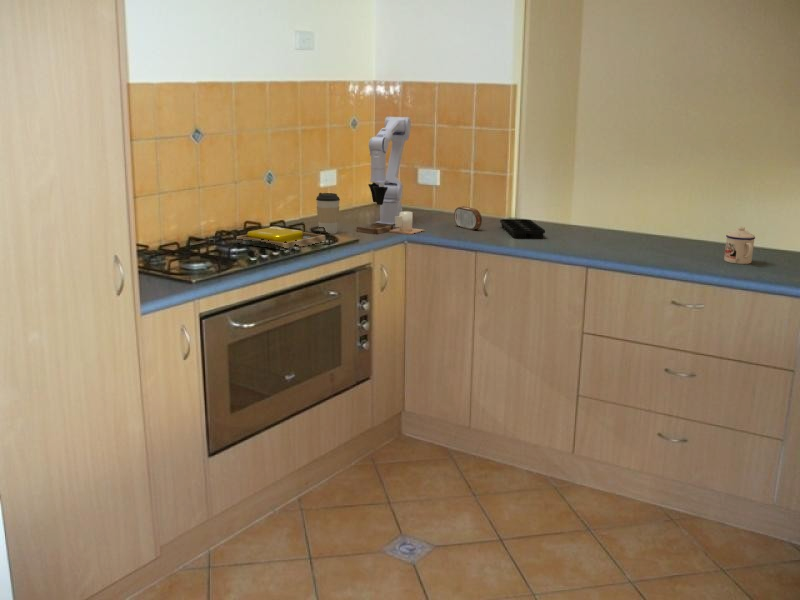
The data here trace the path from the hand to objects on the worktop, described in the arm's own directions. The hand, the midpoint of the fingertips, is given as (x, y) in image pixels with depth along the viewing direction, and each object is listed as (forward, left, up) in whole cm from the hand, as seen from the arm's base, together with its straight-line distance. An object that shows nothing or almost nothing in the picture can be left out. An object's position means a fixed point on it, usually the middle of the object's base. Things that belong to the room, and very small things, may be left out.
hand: (377, 203), depth 338 cm
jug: (+1, +13, -9) cm, 16 cm away
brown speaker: (-24, +27, -10) cm, 38 cm away
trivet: (-2, +13, -10) cm, 16 cm away
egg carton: (-29, +49, -11) cm, 57 cm away
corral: (+48, -8, -10) cm, 50 cm away
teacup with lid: (-22, +132, -10) cm, 134 cm away
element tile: (+48, -10, -11) cm, 51 cm away
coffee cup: (+20, -9, -10) cm, 24 cm away
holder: (+6, +2, -10) cm, 12 cm away
